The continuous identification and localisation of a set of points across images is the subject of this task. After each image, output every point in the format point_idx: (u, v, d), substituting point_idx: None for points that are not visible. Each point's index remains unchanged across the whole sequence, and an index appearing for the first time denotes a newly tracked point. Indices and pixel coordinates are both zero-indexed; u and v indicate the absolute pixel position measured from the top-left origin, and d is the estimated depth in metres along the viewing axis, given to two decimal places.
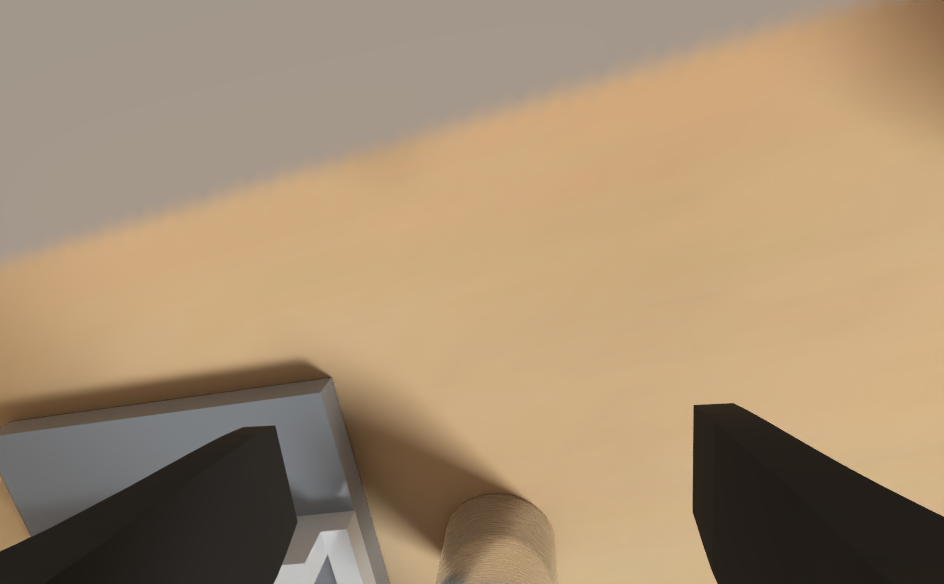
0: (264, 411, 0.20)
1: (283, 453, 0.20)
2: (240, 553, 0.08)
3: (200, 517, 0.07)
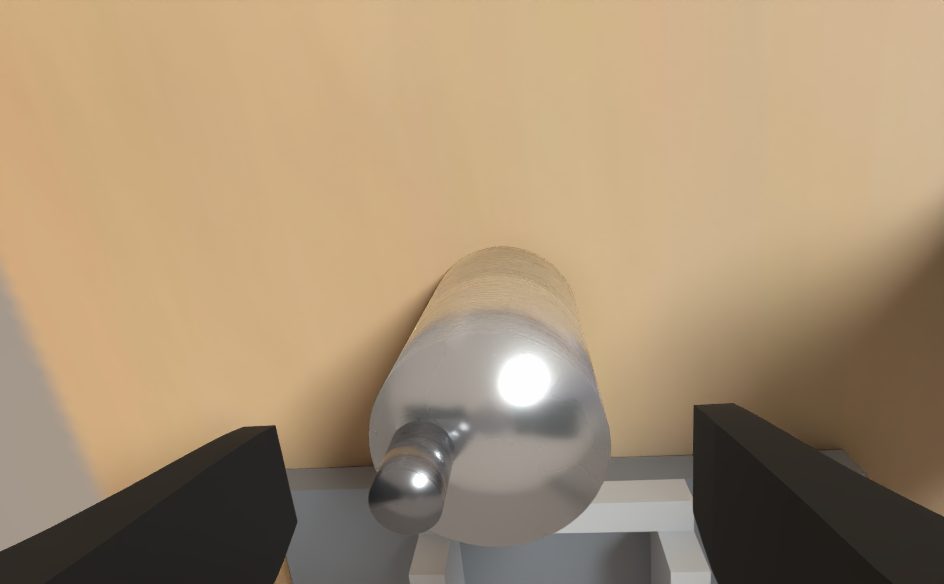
0: (296, 548, 0.18)
1: (346, 542, 0.18)
2: (240, 553, 0.08)
3: (200, 517, 0.07)
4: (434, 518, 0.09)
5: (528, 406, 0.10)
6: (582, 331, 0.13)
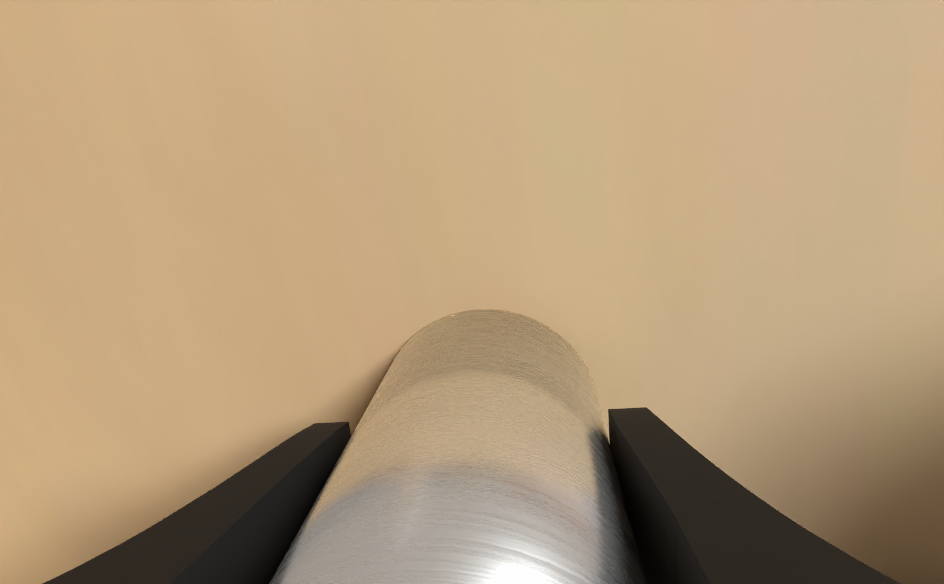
0: None
1: None
2: None
3: (292, 515, 0.07)
4: None
5: None
6: (617, 476, 0.08)
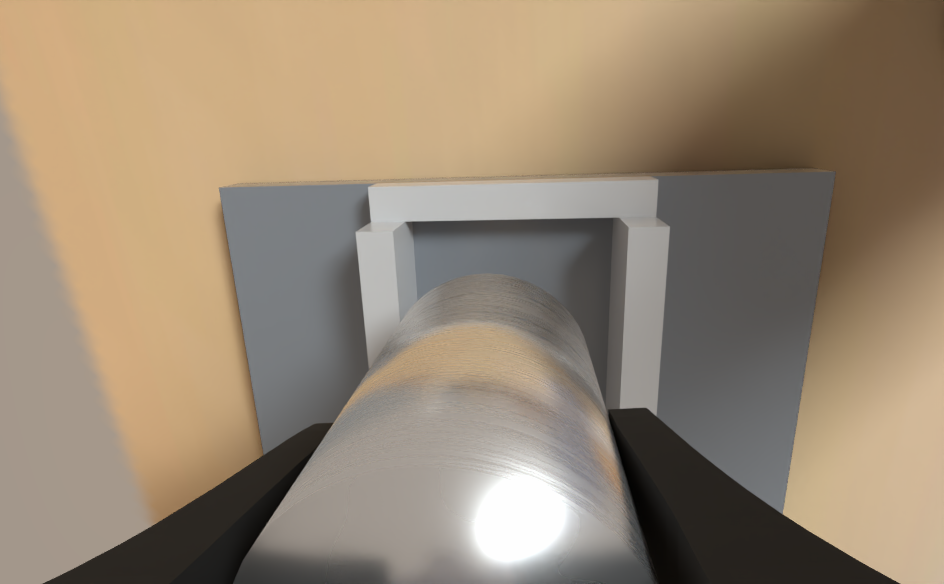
0: (243, 258, 0.18)
1: (296, 251, 0.17)
2: None
3: None
4: None
5: None
6: (603, 404, 0.09)
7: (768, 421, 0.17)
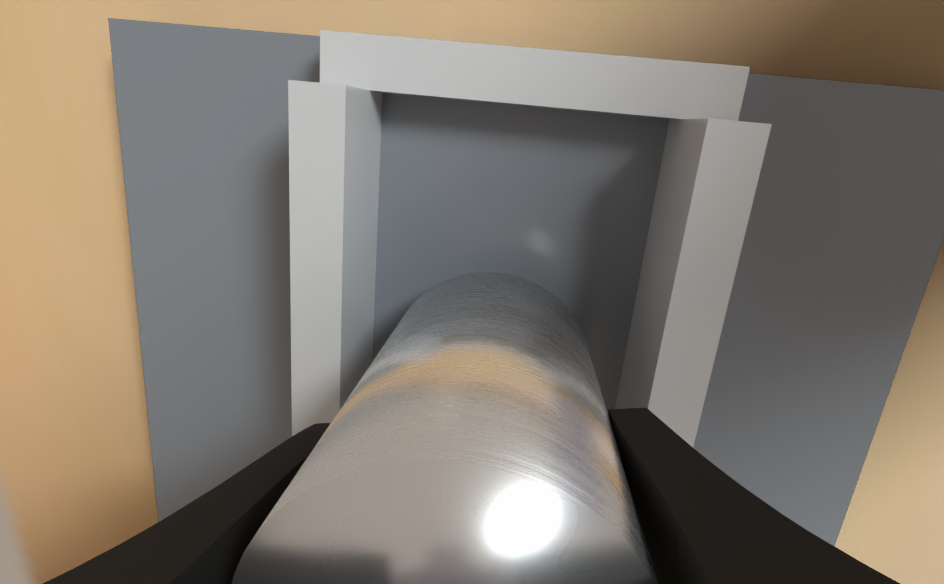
0: (137, 130, 0.12)
1: (213, 128, 0.12)
2: None
3: None
4: None
5: None
6: (602, 401, 0.09)
7: (832, 440, 0.13)
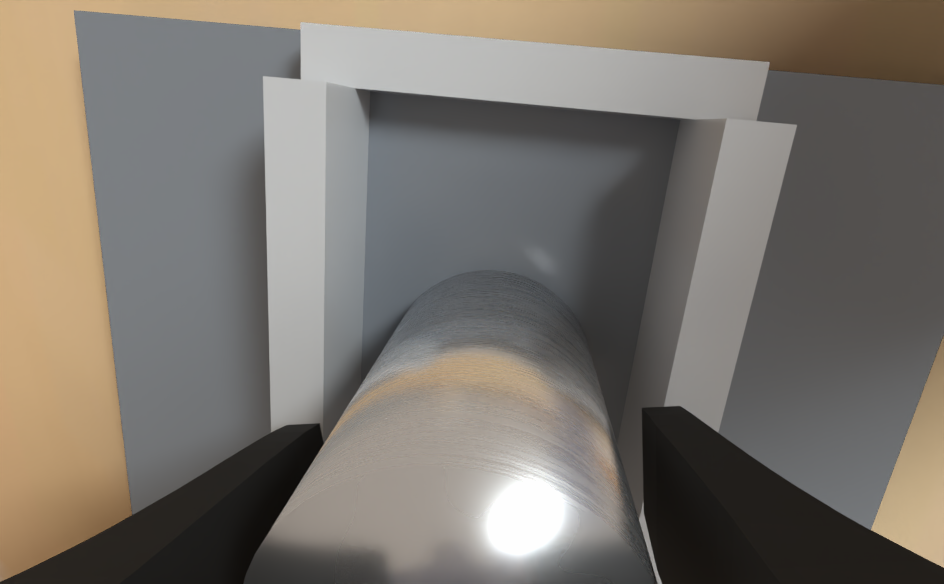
0: (107, 131, 0.11)
1: (189, 129, 0.11)
2: None
3: (255, 515, 0.07)
4: None
5: None
6: (603, 400, 0.09)
7: (853, 463, 0.12)
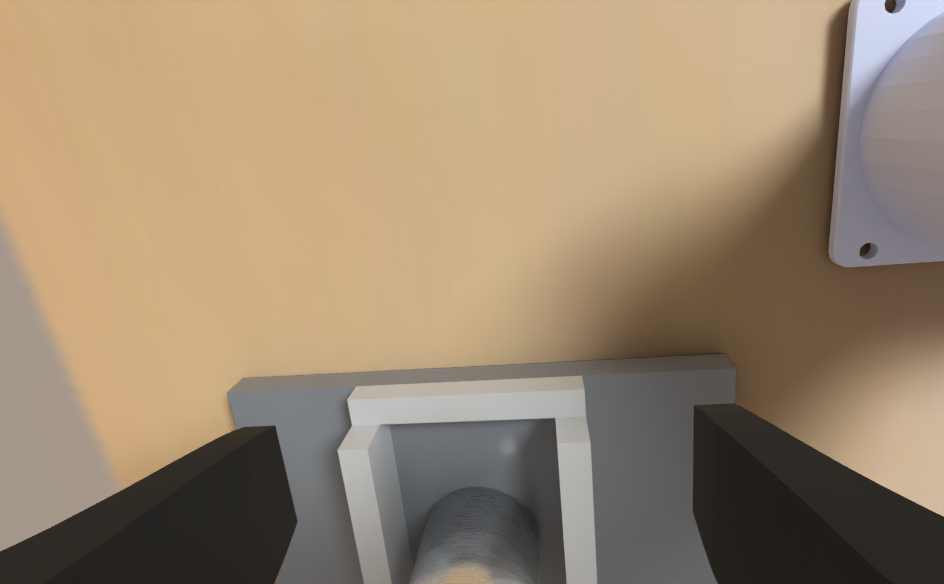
0: None
1: (294, 439, 0.21)
2: (240, 553, 0.08)
3: (200, 517, 0.07)
4: None
5: None
6: (528, 579, 0.17)
7: (704, 561, 0.20)
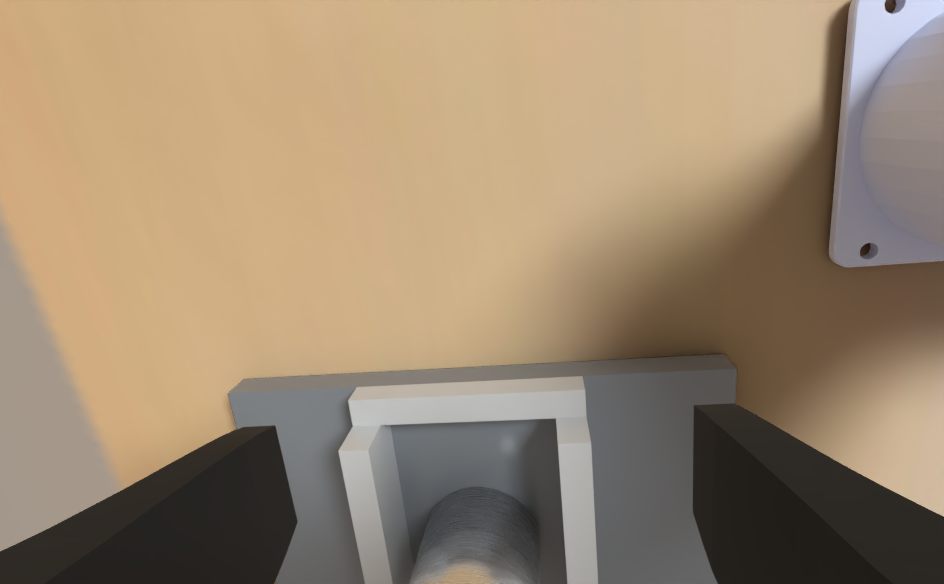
0: None
1: (295, 440, 0.21)
2: (240, 553, 0.08)
3: (200, 517, 0.07)
4: None
5: None
6: (528, 579, 0.17)
7: (705, 561, 0.20)
